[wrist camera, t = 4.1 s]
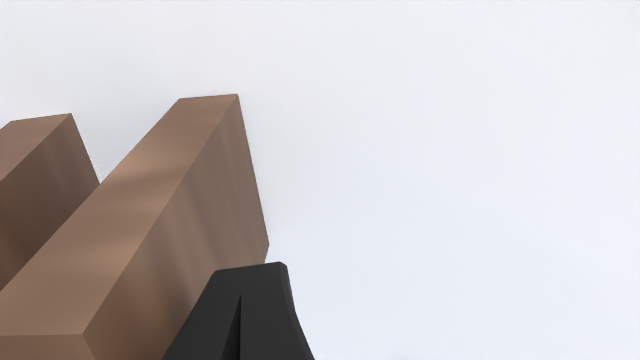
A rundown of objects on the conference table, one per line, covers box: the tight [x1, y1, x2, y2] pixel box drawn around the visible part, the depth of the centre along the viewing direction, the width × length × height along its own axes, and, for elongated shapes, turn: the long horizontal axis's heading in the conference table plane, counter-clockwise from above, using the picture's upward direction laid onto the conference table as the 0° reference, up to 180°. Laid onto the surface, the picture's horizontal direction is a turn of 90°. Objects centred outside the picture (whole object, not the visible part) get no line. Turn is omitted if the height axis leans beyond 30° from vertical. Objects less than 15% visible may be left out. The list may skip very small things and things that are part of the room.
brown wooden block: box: [0, 94, 269, 360], centre depth 10 cm, size 2×5×8 cm, turn 6°
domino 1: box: [0, 113, 100, 292], centre depth 10 cm, size 2×5×8 cm, turn 6°
